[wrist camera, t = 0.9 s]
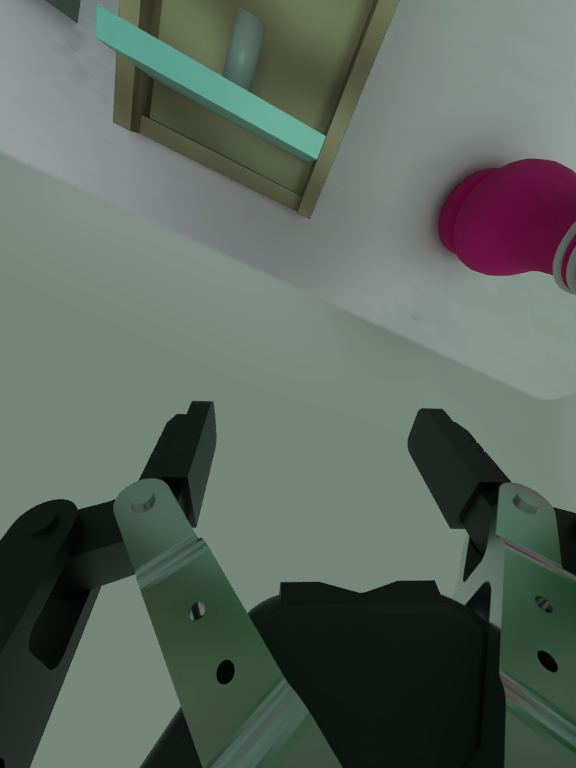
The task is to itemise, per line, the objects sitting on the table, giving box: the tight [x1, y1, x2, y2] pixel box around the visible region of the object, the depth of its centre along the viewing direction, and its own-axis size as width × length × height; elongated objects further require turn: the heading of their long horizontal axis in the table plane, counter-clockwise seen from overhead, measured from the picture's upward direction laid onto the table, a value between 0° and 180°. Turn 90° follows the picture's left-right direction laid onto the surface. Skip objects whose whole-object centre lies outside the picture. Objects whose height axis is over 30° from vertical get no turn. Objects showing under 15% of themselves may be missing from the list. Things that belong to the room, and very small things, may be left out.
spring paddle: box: [96, 4, 326, 163], centre depth 16 cm, size 4×11×8 cm, turn 67°
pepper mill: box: [439, 159, 576, 295], centre depth 16 cm, size 7×7×20 cm
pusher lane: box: [113, 0, 399, 219], centre depth 15 cm, size 16×14×7 cm
